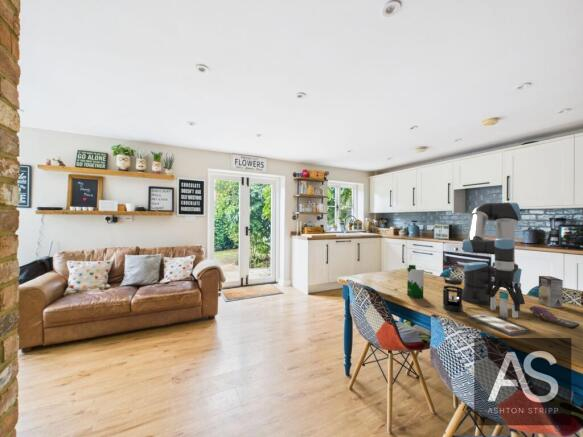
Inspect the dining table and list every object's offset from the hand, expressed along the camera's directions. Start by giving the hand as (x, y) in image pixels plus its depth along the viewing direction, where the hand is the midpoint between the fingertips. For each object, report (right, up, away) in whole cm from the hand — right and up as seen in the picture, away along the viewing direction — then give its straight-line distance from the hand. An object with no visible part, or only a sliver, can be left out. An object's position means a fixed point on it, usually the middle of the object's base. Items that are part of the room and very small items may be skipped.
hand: (503, 313), depth 126 cm
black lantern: (-18, -3, +12) cm, 22 cm away
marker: (0, -3, 0) cm, 3 cm away
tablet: (-10, -3, -7) cm, 12 cm away
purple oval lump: (+21, -3, +1) cm, 21 cm away
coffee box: (+45, -3, +21) cm, 50 cm away
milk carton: (-27, -3, +36) cm, 45 cm away
